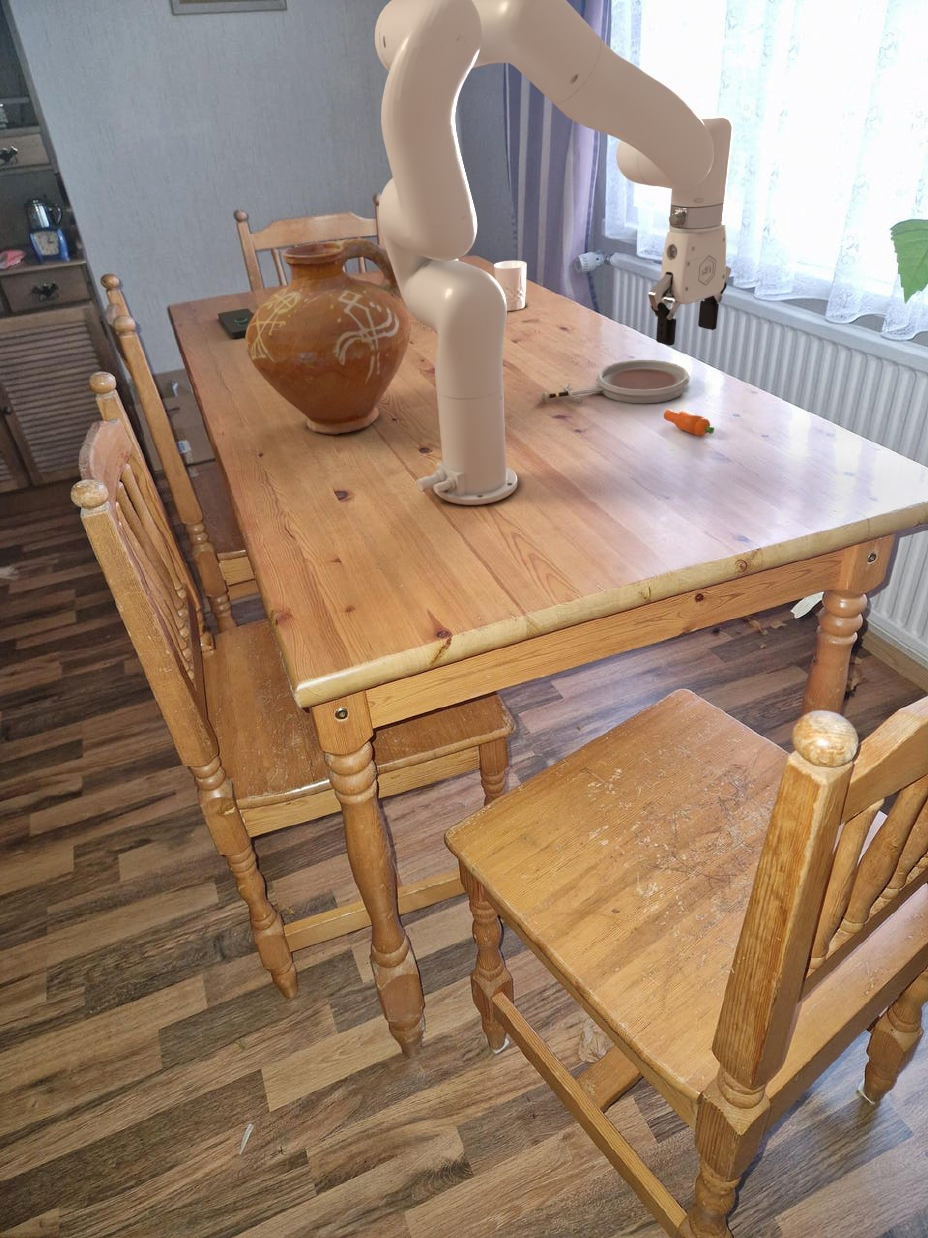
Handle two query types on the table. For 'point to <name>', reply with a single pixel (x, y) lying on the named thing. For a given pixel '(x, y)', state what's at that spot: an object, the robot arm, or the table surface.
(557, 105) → the robot arm
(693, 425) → the carrot
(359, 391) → the jug
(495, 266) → the white cup
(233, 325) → the smart home device
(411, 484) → the table surface
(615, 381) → the frying pan
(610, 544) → the table surface
